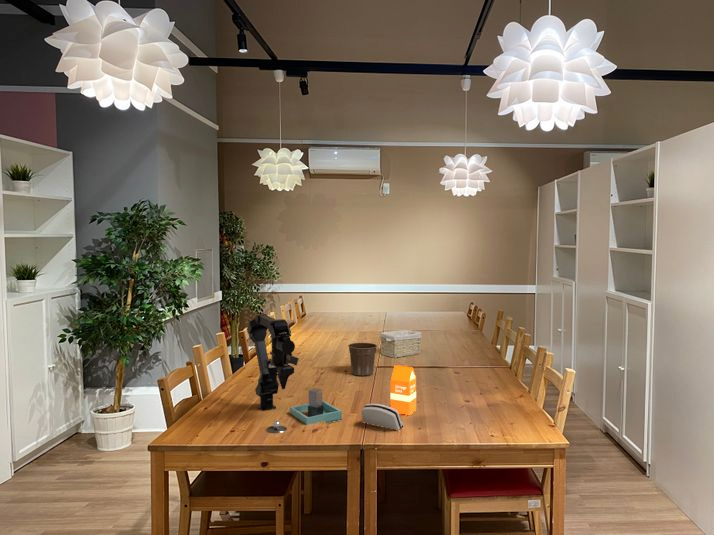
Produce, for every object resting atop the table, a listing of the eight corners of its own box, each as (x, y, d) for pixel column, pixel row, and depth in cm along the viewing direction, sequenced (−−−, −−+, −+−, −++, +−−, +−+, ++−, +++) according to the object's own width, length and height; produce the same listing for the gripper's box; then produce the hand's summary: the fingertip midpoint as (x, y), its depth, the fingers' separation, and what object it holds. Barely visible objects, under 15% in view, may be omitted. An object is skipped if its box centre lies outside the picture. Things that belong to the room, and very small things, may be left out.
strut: (307, 416, 205) (307, 390, 205) (314, 413, 209) (314, 387, 209) (317, 418, 203) (316, 392, 202) (323, 415, 207) (323, 389, 206)
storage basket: (406, 350, 338) (406, 328, 337) (422, 354, 325) (423, 332, 324) (379, 354, 324) (378, 332, 323) (394, 359, 311) (394, 336, 310)
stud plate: (262, 431, 192) (262, 419, 191) (282, 427, 196) (281, 415, 196) (270, 438, 185) (270, 426, 185) (290, 434, 189) (290, 421, 189)
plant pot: (378, 370, 284) (378, 342, 283) (376, 377, 268) (376, 348, 267) (350, 369, 286) (349, 342, 285) (346, 377, 270) (346, 348, 269)
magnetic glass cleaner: (404, 426, 197) (400, 405, 193) (399, 434, 193) (395, 413, 190) (368, 419, 205) (363, 398, 202) (362, 426, 202) (358, 405, 198)
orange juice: (409, 416, 209) (409, 369, 208) (390, 412, 213) (390, 366, 212) (416, 410, 216) (416, 365, 215) (397, 407, 220) (397, 362, 219)
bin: (290, 416, 209) (289, 407, 208) (323, 409, 217) (323, 400, 217) (306, 428, 195) (306, 418, 195) (341, 420, 204) (341, 411, 203)
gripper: (305, 351, 203) (306, 388, 204) (287, 343, 219) (287, 378, 220) (280, 354, 197) (281, 393, 198) (263, 346, 213) (263, 382, 214)
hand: (279, 386), depth 208 cm, fingers open, 9 cm apart
